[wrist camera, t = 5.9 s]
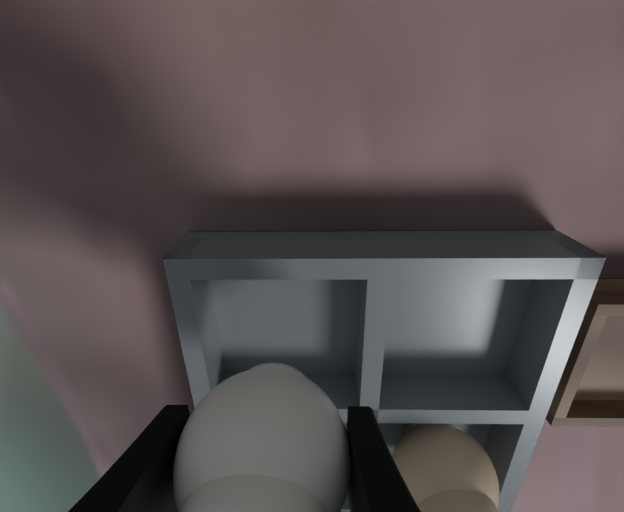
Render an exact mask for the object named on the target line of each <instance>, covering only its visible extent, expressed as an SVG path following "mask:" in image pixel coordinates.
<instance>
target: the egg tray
mask: <svg viewBox="0 0 624 512" xmlns="http://www.w3.org/2000/svg"><path fill="white" fill-rule="evenodd" d="M605 260H606V257H604V256H602V255H600V254H598V253H597V252H595V251H593V250H591V249H589V248H588V247H586V246H584V245H582V244H581V243H579V242H577V241H575V240H573V239H572V238H570V237H568V236H566V235H564V234H563V233H561V232H559V231H557V230H521V231H321V232H189V233H188V234H187V235H186V236H185V237H184V238H183V239H182V240H181V241H180V242H179V243H178V244H177V245H176V246H175V247H174V248H173V249H172V250H171V251H170V252H169V253H168V254H167V255H166V256H165V257H164V258H163V263H164V268H165V272H166V277H167V282H168V286H169V291H170V296H171V300H172V305H173V310H174V314H175V319H176V324H177V328H178V333H179V338H180V342H181V347H182V352H183V356H184V361H185V366H186V370H187V375H188V380H189V384H190V389H191V394H192V398H193V403H194V408H196V406H197V405H198V404H199V402H200V401H201V400H202V399H203V398H204V397H205V396H206V395H207V394H208V393H209V392H210V391H211V390H212V389H213V388H215V387H216V386H217V385H219V384H220V383H221V382H223V381H224V380H226V379H228V378H229V377H231V376H233V375H236V374H238V373H240V372H243V371H246V370H249V369H251V368H252V367H254V366H257V365H260V364H264V363H282V364H286V365H289V366H292V367H294V368H296V369H297V370H299V371H300V372H302V373H303V374H304V375H305V376H306V378H308V379H310V380H311V381H313V382H314V383H315V384H316V385H317V386H319V387H320V388H321V389H322V390H323V391H324V392H325V393H326V394H327V395H328V396H329V398H330V399H331V400H332V402H333V403H334V405H335V406H336V408H337V409H338V411H339V413H340V415H341V418H342V420H343V422H344V425H345V428H346V431H347V412H348V406H369V407H371V408H372V409H373V412H374V415H375V418H376V420H377V423H378V426H379V428H380V431H381V433H382V436H383V438H384V440H385V442H386V445H387V447H388V449H389V451H390V454H391V456H392V455H393V452H394V449H395V447H396V445H397V443H398V441H399V440H400V438H401V437H402V436H403V435H404V434H405V429H406V428H407V426H408V425H409V424H410V423H430V424H452V425H454V426H457V427H459V428H461V429H462V430H464V431H466V432H467V433H469V434H470V435H471V436H472V437H474V438H475V439H476V440H477V441H478V442H479V444H480V445H481V446H482V447H483V448H484V450H485V451H486V453H487V454H488V456H489V457H490V459H491V461H492V463H493V466H494V468H495V471H496V474H497V478H498V483H499V504H498V509H497V510H498V512H510V511H511V508H512V506H513V503H514V501H515V498H516V495H517V493H518V490H519V487H520V485H521V482H522V479H523V477H524V474H525V471H526V469H527V466H528V463H529V461H530V458H531V456H532V453H533V450H534V448H535V445H536V442H537V440H538V437H539V434H540V432H541V429H542V426H543V424H544V421H545V419H546V416H547V413H548V411H549V408H550V405H551V403H552V400H553V397H554V395H555V392H556V389H557V387H558V384H559V381H560V379H561V376H562V374H563V371H564V368H565V366H566V363H567V360H568V358H569V355H570V352H571V350H572V347H573V344H574V342H575V339H576V336H577V334H578V331H579V329H580V326H581V323H582V321H583V318H584V315H585V313H586V310H587V307H588V305H589V302H590V299H591V297H592V294H593V291H594V289H595V286H596V284H597V281H598V278H599V276H600V273H601V270H602V268H603V265H604V262H605ZM341 512H350V506H349V499H348V492H347V496H346V500H345V502H344V505H343V508H342V510H341Z"/></svg>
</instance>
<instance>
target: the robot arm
mask: <svg viewBox="0 0 624 512" xmlns="http://www.w3.org/2000/svg"><path fill="white" fill-rule="evenodd" d="M189 417H190V414H189V410H188V405H166V406H165V407H164V408H163V409H162V410H161V411H160V412H159V414H158V415H157V416H156V417H155V418H154V419H153V420H152V422H151V423H150V424H149V425H148V426H147V427H146V428H145V430H144V431H143V432H142V433H141V434H140V435H139V437H138V438H137V439H136V440H135V441H134V442H133V443H132V444H131V446H130V447H129V448H128V449H127V450H126V451H125V452H124V453H123V455H122V456H121V457H120V458H119V459H118V460H117V461H116V462H115V463H114V464H113V465H112V466H111V468H110V469H109V470H108V471H107V472H106V473H105V474H104V475H103V476H102V477H101V478H100V480H99V481H98V482H97V483H96V484H95V485H94V486H93V487H92V488H91V489H90V490H89V491H88V492H87V493H86V494H85V495H84V496H83V497H82V498H81V499H80V500H79V501H78V502H77V503H76V504H75V505H74V506H73V507H72V508H71V509H70V510H69V511H68V512H178V510H177V506H176V502H175V497H174V489H173V466H174V459H175V453H176V449H177V445H178V442H179V439H180V436H181V433H182V431H183V429H184V426H185V424H186V422H187V420H188V418H189ZM347 434H348V439H349V446H350V459H351V474H350V482H349V488H348V499H349V506H350V512H421V511H420V509H419V508H418V506H417V504H416V502H415V500H414V499H413V497H412V495H411V493H410V491H409V489H408V487H407V485H406V483H405V482H404V480H403V478H402V476H401V474H400V472H399V470H398V468H397V466H396V464H395V462H394V460H393V458H392V456H391V454H390V451H389V449H388V447H387V445H386V442H385V440H384V438H383V436H382V433H381V431H380V428H379V426H378V423H377V420H376V418H375V415H374V412H373V409H372V408H371V407H369V406H348V412H347Z"/></svg>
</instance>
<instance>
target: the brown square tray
mask: <svg viewBox="0 0 624 512" xmlns="http://www.w3.org/2000/svg"><path fill="white" fill-rule="evenodd" d="M546 419H547V421H548V422H549V424H550V425H551V426H624V279H598V281H597V284H596V286H595V289H594V291H593V294H592V297H591V299H590V302H589V305H588V307H587V310H586V313H585V315H584V318H583V321H582V323H581V326H580V329H579V331H578V334H577V336H576V339H575V342H574V344H573V347H572V350H571V352H570V355H569V358H568V360H567V363H566V366H565V368H564V371H563V374H562V376H561V379H560V381H559V384H558V387H557V389H556V392H555V395H554V397H553V400H552V403H551V405H550V408H549V411H548V413H547V416H546Z"/></svg>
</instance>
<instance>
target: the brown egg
mask: <svg viewBox="0 0 624 512" xmlns="http://www.w3.org/2000/svg"><path fill="white" fill-rule="evenodd" d="M392 458H393V460H394V462H395V464H396V466H397V468H398V470H399V472H400V474H401V476H402V478H403V480H404V482H405V483H406V485H407V487H408V489H409V491H410V493H411V495H412V497H413V499H414V500H415V502H416V504H417V506H418V508H419V509H420V511H421V512H498V510H497V509H498V504H499V483H498V478H497V474H496V471H495V468H494V466H493V463H492V461H491V459H490V457H489V456H488V454H487V453H486V451H485V450H484V448H483V447H482V446H481V445H480V444H479V442H478V441H477V440H476V439H475V438H474V437H472V436H471V435H470V434H469V433H467V432H466V431H464V430H462V429H461V428H459V427H457V426H454V425H452V424H430V423H410V424H409V425H408V426H407V428H406V429H405V434H404V435H403V436H402V437H401V438H400V440H399V441H398V443H397V445H396V447H395V449H394V452H393V455H392Z"/></svg>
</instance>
